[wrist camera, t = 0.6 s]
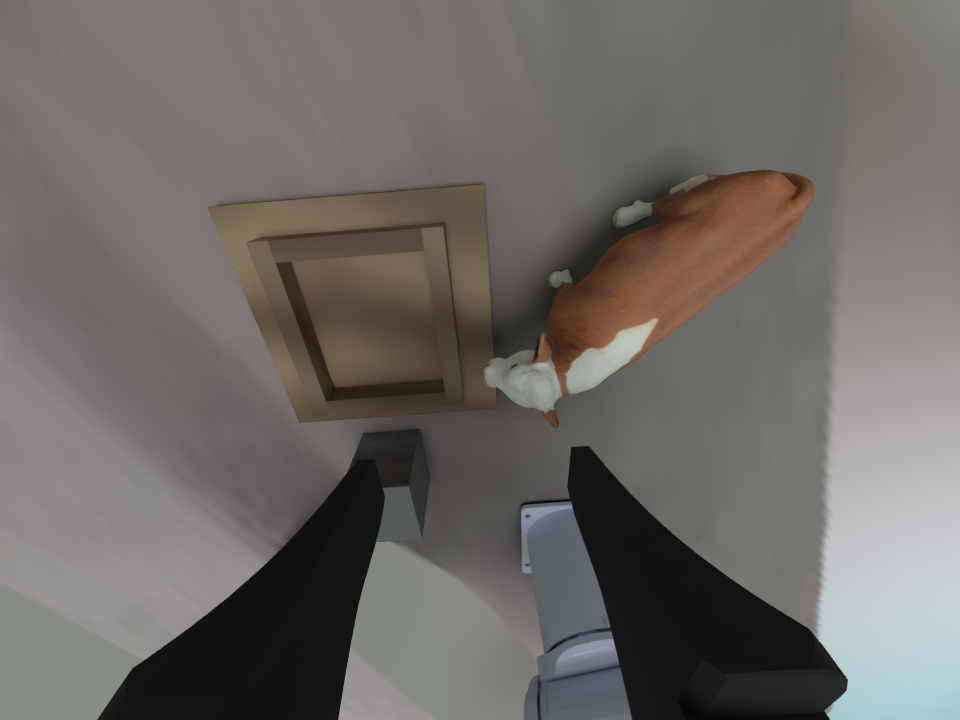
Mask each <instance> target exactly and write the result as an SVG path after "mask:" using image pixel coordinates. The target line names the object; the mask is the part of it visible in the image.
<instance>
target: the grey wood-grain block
mask: <svg viewBox="0 0 960 720" xmlns="http://www.w3.org/2000/svg"><path fill="white" fill-rule="evenodd" d="M365 459H375V462H376V466H377V470H378V473H379V477H380V480H381V484H382V487H383V491H384V494H385V502H384V509H383V515H382V520H381V526H380V529H379V533H378V537H377V540H376V542H386V541H400V540H414V539H422V536H423V528H424V521H425V513H426V505H427V497H428V489H429V481H430V477H429V472H428V467H427V462H426V457H425V453H424V448H423V443H422V438H421V433H420V429H415V430H401V431H388V432H374V433H363V435H362V438H361V440H360V443H359V445H358V448H357V450H356V453H355V455H354V458H353V460H352V463H351V465H350V468H349V470H350V469H351V468H352V466H353V465H354V464H355V463H356V461H357V460H365ZM349 470H348V471H349Z"/></svg>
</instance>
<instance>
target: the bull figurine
mask: <svg viewBox="0 0 960 720" xmlns="http://www.w3.org/2000/svg"><path fill="white" fill-rule="evenodd" d="M669 194H670V195H669V196H665V197H662V198H660V199H658V200H657V201H655V202H651V203H644V202H641V201H640V200H637V201H635V202H634V204H633V205H632V206H627V207H620V208H618V209H617V210H616V211H615V212H614V214H613V216H612V223H613V226H614V227H615V228H623V227H625V226H628V225H631V224H633V223H634V222H636V221H639V220H640V219H642V218H644V217H648V216H659V217H660V218H661V219H662V221H660V222H659V223H657V224H655V225H652V226H650V227H647V228H644V229H641V230H638V231H636V232H633V233H631V234H629V235H627V236H625V237H624V238H622V239H620V240H619V241H618V242H616V243H615V244H614V245H613V246H611V247H610V248H609V249H608V250H607V251H606V252H605V253H604V254H603V255H602V256H601V258H600V259H599V260H598V262H597V263H596V265H595V266H594V268H593V270H592V271H591V272H590V273H589V274H588V275H587V276H586V277H585V278H583V279H582V280H581V281H580V282H579V283H578V284H577V285H576V286H575V284H573V283H572V278H571V276H570V272H569V270H568V269H565V270H564V271H562V272H559V271H554V272H552V273H550V274H549V276H548V278H547V282H548V285H549V286H550V287H553V288H557V290H556V297H555V298H554V301H553V305H552V308H551V310H550V313H549V316H548V328H549V334H548V337H547V339H546V334H545V333H544V332H541V333H540V334H539V336H538V339H537V346H536V350H535V351H533V350H524V351H519V352H517V353H515V354H514V355H512V356H510V357H509V358H507V359H503V358H500V357H497V358H493V359H491V360H490V361H489V362H488V363H487V365H486V368H485V369H484V376H485V381H486V383H487V385H488V386H490V387H493V388H496V387H497V388H499V389H500V390H502V391H503V392H504V393H505V394H506V395H507V396H508V397H509V398H510V399H511V400H512V401H513V402H515V403H516V404H518V405H521V406H523V407H526V408H536V409H538V410H541V411H542V412H543V415H544V417H545V418H546V420H547V421H548V422H549V423H550V424H551V425H552V426H553V427H555V428H558V426H559V422H558V419H557V413H556V409H555V407H554V403H555V402H556V401H557V399H559V398H560V397H562V396H565V395H571V394H576V393H580V392H583V391H586V390H589V389H592V388H593V387H595V386H597V385H598V384H599V383H601V382H602V381H603V380H604V379H605V378H607V377H608V376H610V375H612V374H613V373H615V372H617V371H619V370H621V369H623V368H625V367H627V366H628V365H630V364H631V363H633V362H634V361H636V360H637V359H638V358H639V357H640V356H641V355H642V354H643V353H644V352H646V351H647V350H648V349H649V348H650V347H651V346H653V345H654V344H656V343H658V342H659V341H661V340H662V339H663V338H665V337H666V336H667V335H669V334H670V333H672V332H673V331H674V330H676V329H677V328H678V327H680V326H681V325H682V324H684V323H685V322H686V321H688V320H689V319H690V318H691V317H693V316H694V315H695V314H696V313H698V312H699V311H700V310H701V309H703V308H704V307H705V306H706V305H707V304H709V303H710V302H711V301H712V300H714V299H715V298H716V297H718V296H719V295H720V294H722V293H723V292H725V291H726V290H727V289H729V288H730V287H732V286H733V285H735V284H736V283H738V282H739V281H741V280H742V279H743V278H745V277H746V276H747V275H748V274H750V273H751V272H752V271H753V270H755V269H756V268H757V267H758V266H760V265H761V264H762V263H763V262H764V261H765V260H767V259H768V258H769V257H770V256H771V255H772V254H774V253H775V252H776V251H777V250H778V249H779V248H780V247H781V246H782V245H784V244H785V243H786V242H787V240H788V239H789V238H790V237H791V236H792V234H793V233H794V232H795V230H796V229H797V227H798V225H799V224H800V221H801V218H802V216H803V212H804V211H805V210H806V209H807V207H808V205H809V204H810V202H811V201H812V199H813V196H814V187H813V184H812V182H811V181H810V180H808V179H807V178H805V177H803V176H800V175H797V174H792V173H783V172H778V171H773V170H758V171H748V172H740V173H735V174H730V175H708V174H707V175H699V176H695V177H692V178H690V179H688V180H687V181H685V182H683V183H681V184H679V185H677V186H675V187H673V188H672V189H670V191H669Z"/></svg>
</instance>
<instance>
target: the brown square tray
mask: <svg viewBox="0 0 960 720" xmlns="http://www.w3.org/2000/svg"><path fill="white" fill-rule="evenodd" d="M208 210H209V212H210V214H211V217H212V219H213V221H214V224H215V226H216V228H217V231H218V233H219V235H220V238H221V240H222V242H223V245H224V247H225V250H226V252H227V254H228V257H229V259H230V261H231V264H232V266H233V268H234V271H235V273H236V275H237V278H238V280H239V282H240V285H241V287H242V289H243V292H244V294H245V296H246V299H247V301H248V303H249V306H250V308H251V310H252V313H253V315H254V317H255V320H256V322H257V324H258V327H259V329H260V331H261V334H262V336H263V338H264V341H265V343H266V345H267V348H268V350H269V352H270V355H271V357H272V359H273V362H274V364H275V366H276V369H277V371H278V373H279V376H280V378H281V381H282V383H283V385H284V388H285V390H286V392H287V395H288V397H289V399H290V402H291V404H292V406H293V409H294V411H295V413H296V416H297V418H298V420H299V423H304V422H317V421H330V420H344V419H357V418H371V417H384V416H398V415H411V414H424V413H438V412H451V411H465V410H478V409H491V408H497V400H496V388H493V387H490V386H488V385H487V383H486V381H485V376H484V369H485V368H486V365H487V363H488V362H489V361H490V360H491V359H493V358H494V349H493V331H492V314H491V297H490V280H489V263H488V245H487V228H486V211H485V194H484V184H475V185H463V186H451V187H438V188H426V189H414V190H402V191H389V192H377V193H365V194H352V195H340V196H328V197H316V198H303V199H291V200H279V201H266V202H254V203H242V204H229V205H218V206H210V207H208Z"/></svg>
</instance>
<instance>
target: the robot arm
mask: <svg viewBox="0 0 960 720" xmlns="http://www.w3.org/2000/svg"><path fill="white" fill-rule="evenodd" d="M568 491H569V495H570V499H571V501H569V502H555V503H541V504H527V505H524V506H522V507H521V549H522V571H523V573H526V574H530V573H532V578H533V584H534V591H535V597H536V604H537V610H538V617H539V623H540V629H541V636H542V642H543V649H544V655H541V656H538V657H537V662H538V669H539V675H537V676H534V677H533V678H532V679H531V681H530V684H529V688H528V691H527V693H526V697H525V703H524V720H830V719H829V717H828V716H827V714H826V713H825V711H824V710H825V709H826V708H828V707H829V706H830V705H831V704H832V703H834V701H836V700H837V699H838V698H839V697H841V696H842V695H843V693H844V692H845V691H846V690H847V682H848V679H847V678H846V676H845V675H844V674H843V672H842V671H841V670H840V668H839V667H838V666H837V664H836V663H835V662H834V660H833V659H832V657H831V656H830V655H829V653H828V652H827V650H826V649H825V648H824V647H823V645H822V644H821V643H820V642H819V641H818V639H817V638H816V637H815V636H814V634H813V633H812V632H811V631H810V630H809V629H808V628H807V627H805V626H803V625H802V624H800V623H799V622H797V621H795V620H794V619H792V618H790V617H789V616H787V615H786V614H784V613H782V612H781V611H779V610H777V609H776V608H774V607H773V606H771V605H769V604H768V603H766V602H765V601H763V600H761V599H760V598H758V597H757V596H755V595H754V594H752V593H751V592H749V591H748V590H746V589H745V588H743V587H742V586H741V585H739V584H738V583H736V582H735V581H733V580H732V579H730V578H729V577H728V576H726V575H725V574H723V573H722V572H721V571H719V570H718V569H717V568H715V567H714V566H713V565H711V564H710V563H709V562H707V561H706V560H705V559H703V558H702V557H701V556H699V555H698V554H697V553H695V552H694V551H693V550H692V549H690V548H689V547H688V546H687V545H686V544H684V543H683V542H682V541H681V540H679V539H678V538H677V537H676V536H675V535H674V534H672V533H671V532H670V531H669V530H668V529H667V528H666V527H664V526H663V525H662V524H661V523H660V522H659V521H658V520H657V519H656V518H655V517H654V516H653V515H651V514H650V513H649V512H648V511H647V510H646V509H645V508H644V507H643V506H642V505H641V504H640V503H639V502H638V501H637V500H636V499H635V498H634V497H633V496H632V495H631V494H630V493H629V491H628V490H627V489H626V488H625V487H624V486H623V485H622V484H621V483H620V482H619V481H618V480H617V479H616V477H615V476H614V475H613V474H612V473H611V472H610V471H609V469H608V468H607V467H606V466H605V465H604V464H603V462H602V461H601V460H600V459H599V458H598V456H597V455H596V454H595V453H594V452H593V450H592V449H591V448H590V447H589V446H581V447H571V456H570V466H569V476H568ZM384 502H385V494H384V491H383V487H382V484H381V480H380V477H379V473H378V470H377V466H376V462H375V459H365V460H357V461H356V463H355V464H354V465H353V466H352V468H351V469H350V470H349V471H348V473H347V474H346V475H345V476H344V478H343V479H342V480H341V482H340V483H339V484H338V485H337V487H336V488H335V489H334V490H333V492H332V493H331V494H330V495H329V496H328V498H327V499H326V500H325V501H324V502H323V504H322V505H321V506H320V507H319V508H318V510H317V511H316V512H315V513H314V514H313V515H312V516H311V518H310V519H309V520H308V521H307V522H306V523H305V524H304V525H303V526H302V528H301V529H300V530H299V531H298V532H297V533H296V534H295V535H294V536H293V537H292V538H291V539H290V540H289V542H288V543H287V544H286V545H285V546H284V547H283V548H282V549H281V550H280V551H279V552H278V553H277V554H276V555H275V556H274V557H273V558H271V559H270V560H269V561H268V562H267V563H266V564H265V565H264V566H263V567H262V568H261V569H260V570H259V571H258V572H256V573H255V574H254V575H253V576H252V577H251V578H250V579H249V580H247V581H246V582H245V583H244V584H243V585H242V586H241V587H239V588H238V589H237V590H236V591H235V592H234V593H233V594H231V595H230V596H229V597H228V598H227V599H225V600H224V601H223V602H222V603H220V604H219V605H218V606H217V607H215V608H214V609H213V610H212V611H211V612H209V613H208V614H207V615H205V616H204V617H203V618H201V619H200V620H199V621H198V622H196V623H195V624H194V625H192V626H191V627H190V628H188V629H187V630H186V631H184V632H183V633H182V634H180V635H179V636H178V637H176V638H175V639H174V640H172V641H171V642H169V643H168V644H167V645H165V646H164V647H162V648H161V649H160V650H158V651H157V652H155V653H154V654H153V655H151V656H150V657H148V658H147V659H146V660H144V661H143V662H141V663H140V664H138V665H137V666H135V667H134V668H133V669H132V670H131V671H130V673H129V674H128V676H127V677H126V679H125V680H124V681H123V683H122V684H121V686H120V687H119V688H118V690H117V691H116V693H115V694H114V696H113V697H112V699H111V700H110V702H109V703H108V705H107V706H106V708H105V709H104V711H103V712H102V713H101V715H100V716H99V718H98V719H97V720H338V717H339V711H340V705H341V698H342V692H343V686H344V680H345V674H346V668H347V662H348V657H349V651H350V645H351V640H352V635H353V629H354V624H355V619H356V614H357V609H358V605H359V600H360V597H361V593H362V589H363V585H364V582H365V578H366V575H367V572H368V568H369V564H370V561H371V557H372V554H373V550H374V547H375V544H376V540H377V537H378V533H379V529H380V526H381V520H382V515H383V509H384Z"/></svg>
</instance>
